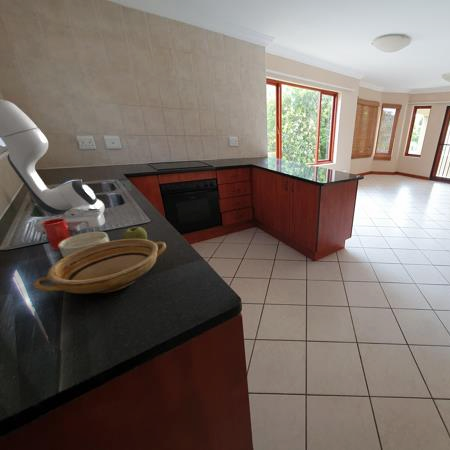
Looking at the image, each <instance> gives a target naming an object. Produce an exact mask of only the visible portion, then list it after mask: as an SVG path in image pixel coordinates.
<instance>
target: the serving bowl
mask: <svg viewBox="0 0 450 450" xmlns="http://www.w3.org/2000/svg"><path fill="white" fill-rule="evenodd" d="M109 241H111V240H110V238H109V235H108V233H107V232H104V231H90V232H84V233H79V234H75V235H72V237H69V238H67V239H64V240H62V241H61V242H60V243H59V244H58V247H59V249H60V250H59V252H60V254H61V256H62V257H63V258H64V257H66V256H68V255H70V254H72V253H74V252H76V251H79V250H81V249H84V248H87V247H90V246H93V245H96V244H100V243H104V242H109Z"/></svg>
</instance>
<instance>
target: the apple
mask: <svg viewBox="0 0 450 450" xmlns="http://www.w3.org/2000/svg"><path fill="white" fill-rule="evenodd" d="M121 239H145V240H148V233H147V231H146V230H145V228H143V227H141V226H131V227H128V228H127V229H125V230H123V232H122V234H121Z"/></svg>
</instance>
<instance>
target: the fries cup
mask: <svg viewBox="0 0 450 450" xmlns="http://www.w3.org/2000/svg"><path fill="white" fill-rule="evenodd" d="M42 227H43V229H44V231H45V233H46V234H45V236H46V238H47V241H48V243H49V245H50V247H51V249H52V250H53V251H60V249H59V247H58V244H59V243H60V242H61V241H62V240H64V239H67V238H69V237H72V236H73V235H72V233H71V230H69V228H68V225H67V223H66V220H65V219H63V218H62V219H52V220H48V221H45V222H43V223H42Z"/></svg>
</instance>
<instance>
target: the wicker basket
mask: <svg viewBox="0 0 450 450" xmlns="http://www.w3.org/2000/svg"><path fill="white" fill-rule="evenodd" d="M160 246H161V248H160V249H159V247H160ZM166 249H167V244H166V243H165V242H164V241H156V242H154V241H152V240H150V239H147V240H145V239H122V238H121V239H115V240H110V241H109V242H104V243H100V244H96V245H93V246H90V247H87V248H84V249H81V250H79V251H76V252H74V253H72V254H70V255H68V256H66V257H63V258H61V259H59V260H58V261H56V262H55V263H54V264H53V265H52V266H51V267H50V268H49V269H48V270H47V276H43V277H40V278H38V279H36V280H35V281H34V283H33V287H34V288H35V289H36V290H38V291H41V292H58V291H59V292H60V291H61V292H62V291H64V292H67V293H71V294H77V295H93V294H106V293H112V292H116V291H120V290H123V289H125V288H127V287H128V286H130V285H133V283H135V282H136V281H137V280H139V279H140V278H142V277H144V276H146V274H147V273H149V272H150V270H151V269H152V268H153V267H154V265H155V264H156V262H157V258H158V257H159V256H161V255H162V254H163V253H164V252H165V251H166ZM49 282H53V284H54V285H45V283H49ZM43 284H44V285H43Z"/></svg>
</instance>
